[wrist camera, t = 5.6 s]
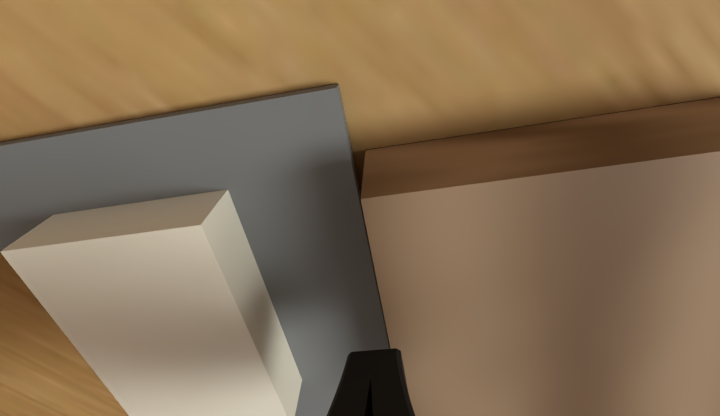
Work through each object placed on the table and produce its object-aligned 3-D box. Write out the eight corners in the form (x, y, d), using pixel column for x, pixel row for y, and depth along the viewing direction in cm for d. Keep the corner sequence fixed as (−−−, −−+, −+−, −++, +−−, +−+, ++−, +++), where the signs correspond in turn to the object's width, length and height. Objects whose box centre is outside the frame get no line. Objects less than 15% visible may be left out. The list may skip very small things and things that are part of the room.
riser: (405, 371, 16) (410, 445, 13) (365, 150, 11) (360, 199, 9) (663, 352, 15) (723, 430, 12) (744, 93, 10) (872, 130, 7)
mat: (162, 440, 20) (157, 450, 19) (-55, 152, 12) (-72, 158, 12) (406, 427, 18) (407, 438, 18) (338, 83, 10) (336, 87, 10)
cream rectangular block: (292, 427, 14) (302, 380, 16) (200, 225, 10) (227, 189, 12) (145, 436, 15) (169, 389, 17) (-1, 251, 11) (53, 214, 12)
